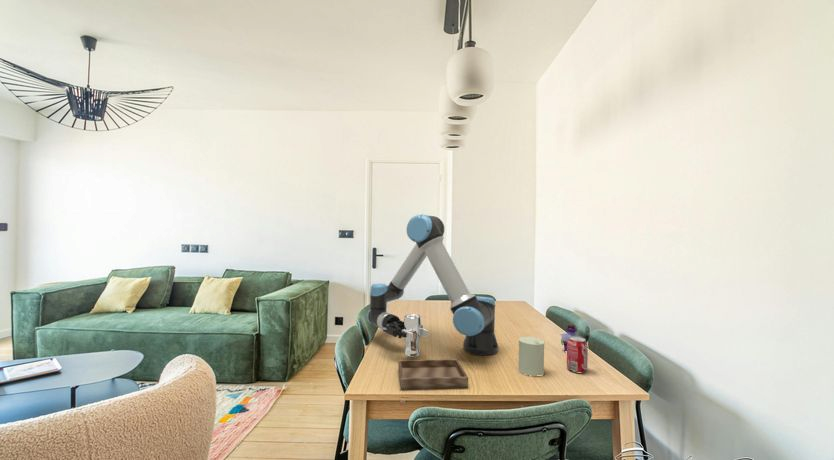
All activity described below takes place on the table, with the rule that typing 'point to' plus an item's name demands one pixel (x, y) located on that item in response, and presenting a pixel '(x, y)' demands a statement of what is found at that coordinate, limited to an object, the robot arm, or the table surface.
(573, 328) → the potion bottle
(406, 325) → the beer glass
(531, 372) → the can
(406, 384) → the walnut tray
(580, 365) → the soda can
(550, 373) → the table surface
